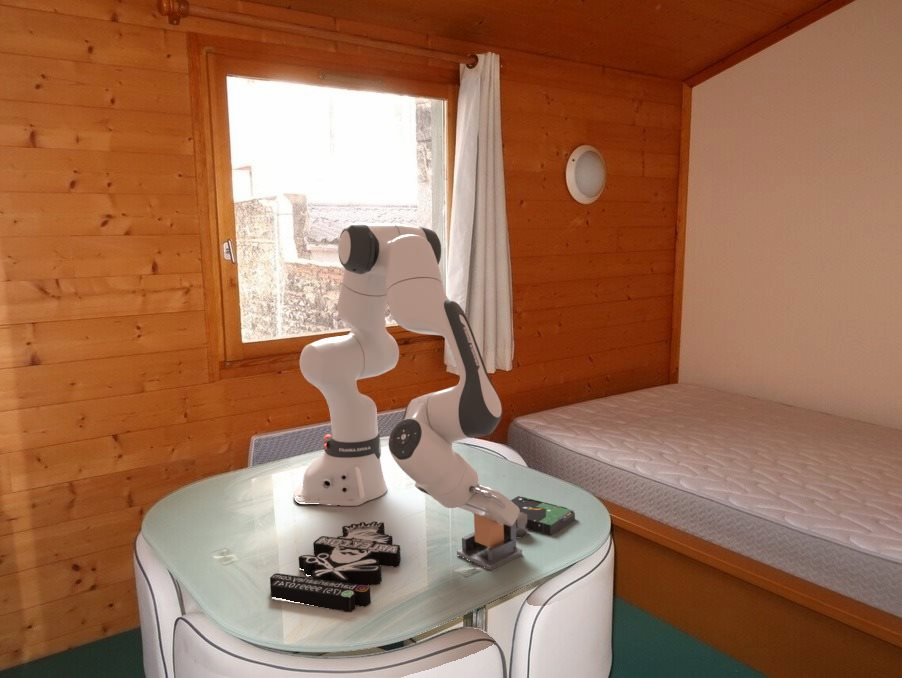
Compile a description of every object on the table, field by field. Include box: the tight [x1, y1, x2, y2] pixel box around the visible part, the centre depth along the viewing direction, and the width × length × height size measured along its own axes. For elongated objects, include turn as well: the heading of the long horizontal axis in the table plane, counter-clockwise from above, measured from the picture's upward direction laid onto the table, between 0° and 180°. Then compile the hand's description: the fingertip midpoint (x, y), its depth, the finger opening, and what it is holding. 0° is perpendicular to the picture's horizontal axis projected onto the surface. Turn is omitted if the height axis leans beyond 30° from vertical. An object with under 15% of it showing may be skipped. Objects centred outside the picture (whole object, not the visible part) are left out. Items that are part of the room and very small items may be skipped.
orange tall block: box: [473, 513, 504, 547], centre depth 137 cm, size 4×4×9 cm
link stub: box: [516, 512, 528, 538], centre depth 147 cm, size 4×4×4 cm
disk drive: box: [509, 495, 576, 536], centre depth 154 cm, size 10×3×15 cm
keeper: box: [456, 521, 523, 571], centre depth 138 cm, size 9×10×10 cm
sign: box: [269, 521, 402, 613], centre depth 135 cm, size 19×3×30 cm
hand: (491, 516), depth 137 cm, fingers closed on orange tall block, 4 cm apart
